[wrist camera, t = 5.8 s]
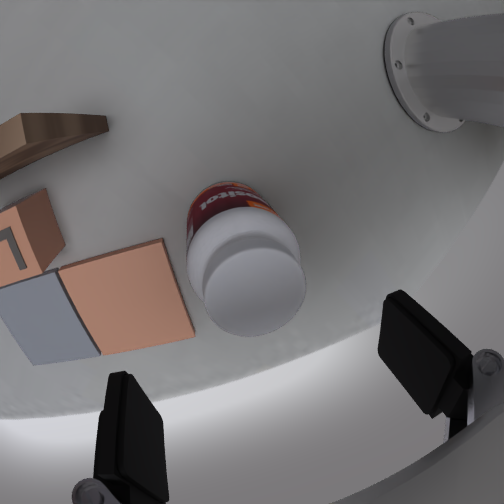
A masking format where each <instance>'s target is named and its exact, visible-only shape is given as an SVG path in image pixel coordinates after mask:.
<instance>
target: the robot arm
mask: <svg viewBox="0 0 504 504" xmlns="http://www.w3.org/2000/svg"><path fill="white" fill-rule="evenodd" d="M385 62H386V69H387V73H388V76H389V80H390V83H391V85H392V88H393V90H394V93H395V95H396V96H397V98H398V100H399V102H400V104H401V105H402V106H403V108H404V109H405V110H406V112H407V113H408V115H410V116H411V117H412V118H413V119H414V120H415V121H416V122H417V123H418V124H420V125H421V126H423V127H424V128H427V129H429V130H431V131H437V132H451V131H454V130H456V129H458V128H459V127H461V126H462V125H463V123H464V122H465V121H466V120H467V121H473V122H479V123H485V124H490V125H495V126H500V127H504V14H492V15H482V16H474V17H467V18H460V19H454V20H448V21H443V22H442V21H440V20H439V19H437V18H436V17H434V16H432V15H430V14H427V13H423V12H411V13H407V14H404V15H402V16H400V17H398V18H397V19H395V21H394V22H393V23H392V24H391V26H390V28H389V30H388V32H387V35H386V40H385ZM378 354H379V356H380V358H381V359H382V360H383V362H384V363H385V364H386V365H387V367H388V368H389V369H390V370H391V371H392V373H393V374H394V375H395V377H396V378H397V379H398V380H399V382H400V383H401V384H402V386H403V387H404V388H405V389H406V390H407V392H408V393H409V395H410V396H411V397H412V398H413V400H414V401H415V402H416V404H417V405H418V406H419V407H420V409H421V410H422V411H423V413H425V414H429V415H430V417H431V418H432V419H433V418H434V417H436V416H437V415H438V414H440V413H442V412H443V413H444V414H445V415H446V424H445V435H444V442H443V444H442V445H440V446H439V447H438V448H436V449H435V450H433V451H432V452H430V453H429V454H427V455H426V456H424V457H422V458H421V459H419V460H418V461H416V462H414V463H413V464H411V465H409V466H407V467H406V468H404V469H402V470H400V471H399V472H397V473H395V474H393V475H391V476H389V477H388V478H386V479H384V480H382V481H380V482H378V483H376V484H374V485H372V486H370V487H368V488H366V489H363V490H361V491H359V492H357V493H355V494H352V495H350V496H348V497H345V498H343V499H340V500H338V501H335V502H333V503H330V504H504V359H503V357H502V356H501V355H500V354H499V353H498V352H496V351H494V350H491V349H482V350H480V351H478V352H477V353H476V354H475V355H474V356H473V355H472V354H471V351H470V350H469V349H468V348H467V347H466V346H465V345H464V344H463V343H462V342H461V341H459V340H458V338H456V337H455V336H454V335H453V334H452V333H451V332H450V331H449V330H448V329H447V328H446V327H444V326H443V325H442V324H441V323H440V322H439V321H438V320H437V319H435V318H434V317H433V316H432V315H431V314H430V313H429V312H428V311H426V310H425V309H424V308H423V307H422V306H421V305H420V304H418V303H417V302H416V301H415V300H414V299H413V298H411V297H410V296H409V295H408V294H407V293H406V292H404V291H403V290H398V291H395V292H393V293H390V294H388V295H387V296H386V300H384V302H383V311H382V320H381V329H380V337H379V344H378ZM168 501H169V491H168V482H167V472H166V460H165V447H164V429H163V420H162V418H161V415H160V414H159V413H158V411H157V410H156V409H155V407H154V406H153V404H152V403H151V401H150V400H149V399H148V397H147V396H146V394H145V393H144V391H143V390H142V388H141V387H140V385H139V384H138V382H137V381H136V379H135V378H134V376H133V375H132V374H128V373H127V372H126V371H121V372H115V373H110V374H109V378H108V384H107V390H106V396H105V403H104V410H103V411H101V413H100V416H99V422H98V430H97V440H96V450H95V460H94V475H93V478H87V479H83V480H82V481H79V482H78V483H77V484H76V485H75V487H74V489H73V491H72V502H73V504H166V502H168Z"/></svg>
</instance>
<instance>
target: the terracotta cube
mask: <svg viewBox="0 0 504 504" xmlns="http://www.w3.org/2000/svg"><path fill="white" fill-rule="evenodd" d="M64 246H65V242H64V240H63V237H62V235H61V232H60V229H59V227H58V224H57V221H56V218H55V215H54V213H53V210H52V207H51V204H50V201H49V198H48V194H47V191H46V188H45V189H43V190H40V191H38V192H36V193H34V194H31V195H29V196H27V197H25V198H23V199H21V200H18V201H16V202H14V203H12V204H10V205H8V206H6V207H4V208H3V209H1V210H0V287H2V286H5V285H8V284H11V283H14V282H17V281H20V280H23V279H26V278H29V277H32V276H36V275H39V274H42V273H43V272H44V271H45V270H46V268H47V267H48V266H49V264H50V263H51V262H52V261H53V259H54V258H55V257H56V256H57V255H58V253H59V252H60V251H61V250H62V249H63V247H64Z"/></svg>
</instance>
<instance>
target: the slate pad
mask: <svg viewBox="0 0 504 504" xmlns="http://www.w3.org/2000/svg"><path fill="white" fill-rule="evenodd" d="M0 316H1V318H2V319H3V321H4V323H5V324H6V326H7V328H8V329H9V331H10V332H11V334H12V336H13V337H14V339H15V340H16V342H17V343H18V345H19V346H20V348H21V349H22V351H23V352H24V353H25V355H26V356H27V358H28V359H29V360H30V362H31V363H32V365H41V364H49V363H57V362H64V361H71V360H78V359H85V358H91V357H97V356H100V355H101V350H100V349H99V347H98V346H97V344H96V342H95V341H94V339H93V337H92V336H91V334H90V332H89V330H88V329H87V327H86V325H85V323H84V322H83V320H82V318H81V316H80V314H79V313H78V311H77V309H76V307H75V305H74V303H73V301H72V299H71V297H70V295H69V293H68V291H67V289H66V287H65V285H64V283H63V281H62V279H61V277H60V275H59V272H58V268H56V269H52V270H49V271H46V272H43V273H42V274H39V275H36V276H32V277H29V278H26V279H23V280H20V281H17V282H14V283H11V284H8V285H5V286H2V287H0Z"/></svg>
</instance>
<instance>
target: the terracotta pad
mask: <svg viewBox="0 0 504 504" xmlns="http://www.w3.org/2000/svg"><path fill="white" fill-rule="evenodd" d="M58 272H59V275H60V277H61V279H62V281H63V283H64V285H65V287H66V289H67V291H68V293H69V295H70V297H71V299H72V301H73V303H74V305H75V307H76V309H77V311H78V313H79V314H80V316H81V318H82V320H83V322H84V323H85V325H86V327H87V329H88V330H89V332H90V334H91V336H92V337H93V339H94V341H95V342H96V344H97V346H98V347H99V349H100V350H101V352H102V354H103V355H109V354H115V353H120V352H126V351H131V350H136V349H141V348H146V347H151V346H156V345H161V344H166V343H170V342H175V341H180V340H184V339H188V338H193V337H195V330H194V328H193V325H192V323H191V320H190V317H189V315H188V312H187V309H186V306H185V304H184V301H183V298H182V295H181V293H180V290H179V287H178V284H177V281H176V278H175V275H174V272H173V269H172V266H171V263H170V260H169V257H168V254H167V251H166V248H165V245H164V242H163V239H162V238H161V239H157V240H153V241H150V242H146V243H142V244H139V245H135V246H131V247H128V248H124V249H121V250H117V251H113V252H110V253H106V254H103V255H99V256H96V257H92V258H89V259H86V260H82V261H79V262H76V263H72V264H69V265H66V266H62V267H61V268H60V269H59V270H58Z"/></svg>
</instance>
